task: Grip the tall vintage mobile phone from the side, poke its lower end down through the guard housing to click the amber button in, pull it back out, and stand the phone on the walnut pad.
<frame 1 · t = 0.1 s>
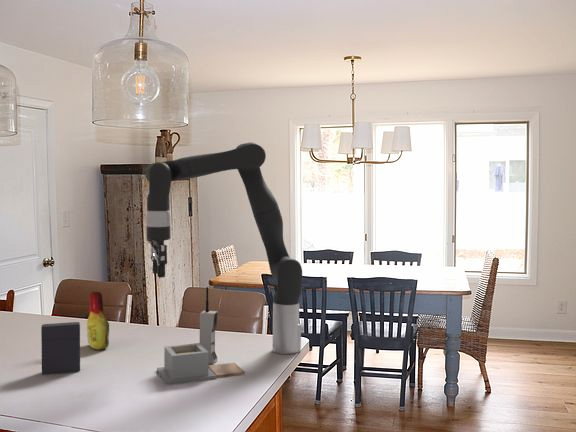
hand: (158, 275, 185), 29 cm above the kitchen island, tool pointing down, fingers open, 8 cm apart
walnut pad: (226, 371, 181), on the kitchen island
vintage mobile phone: (208, 362, 190), on the kitchen island
guard housing: (186, 374, 177), on the kitchen island
bottle: (97, 348, 206), on the kitchen island
amber button: (186, 360, 177), point 5 cm above the kitchen island, slide at 0.0 cm
calculator: (61, 372, 178), on the kitchen island
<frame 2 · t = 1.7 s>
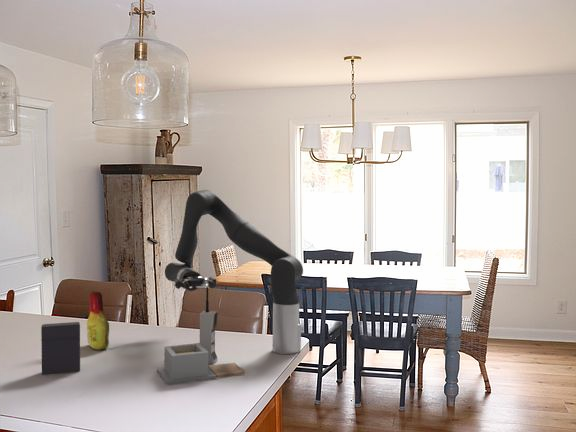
hand: (200, 286, 198), 24 cm above the kitchen island, tool horizontal, fingers open, 8 cm apart
nothing on the kitchen island moved.
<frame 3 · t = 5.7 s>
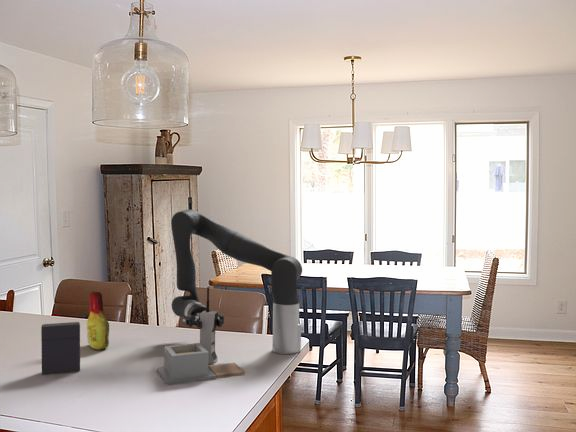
hand: (210, 324, 187), 13 cm above the kitchen island, tool horizontal, fingers closed on vintage mobile phone, 6 cm apart
vintage mobile phone: (208, 362, 190), on the kitchen island, touching gripper
everything else where it was.
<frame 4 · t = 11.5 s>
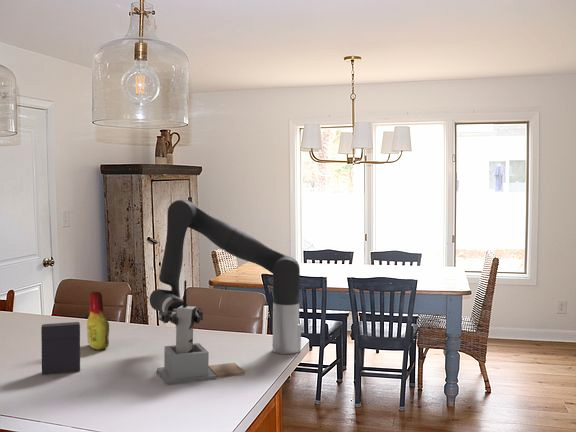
hand: (187, 320, 174), 17 cm above the kitchen island, tool horizontal, fingers closed on vintage mobile phone, 6 cm apart
vintage mobile phone: (185, 361, 177), point 4 cm above the kitchen island, touching amber button, gripper
amber button: (186, 366, 177), point 3 cm above the kitchen island, slide at 1.8 cm, touching vintage mobile phone
everything else where it was.
when the fingers open (14 cm above the kitchen island, at t = 17.9 s): vintage mobile phone stays where it is, resting on walnut pad.
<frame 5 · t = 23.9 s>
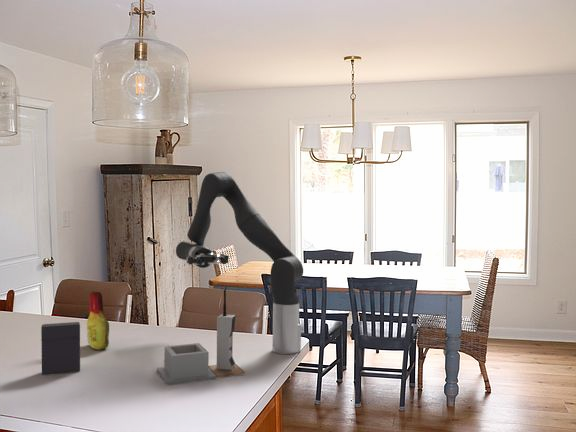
hand: (213, 261, 199), 32 cm above the kitchen island, tool horizontal, fingers open, 8 cm apart
vintage mobile phone: (226, 368, 182), point 1 cm above the kitchen island, touching walnut pad
amber button: (186, 366, 177), point 3 cm above the kitchen island, slide at 1.8 cm
everything else where it was.
at the end: amber button slide at 1.8 cm; vintage mobile phone inside the target area on the walnut pad (0.4 cm from its centre), point 0.6 cm above the walnut pad's base; vintage mobile phone tilted 0° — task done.
